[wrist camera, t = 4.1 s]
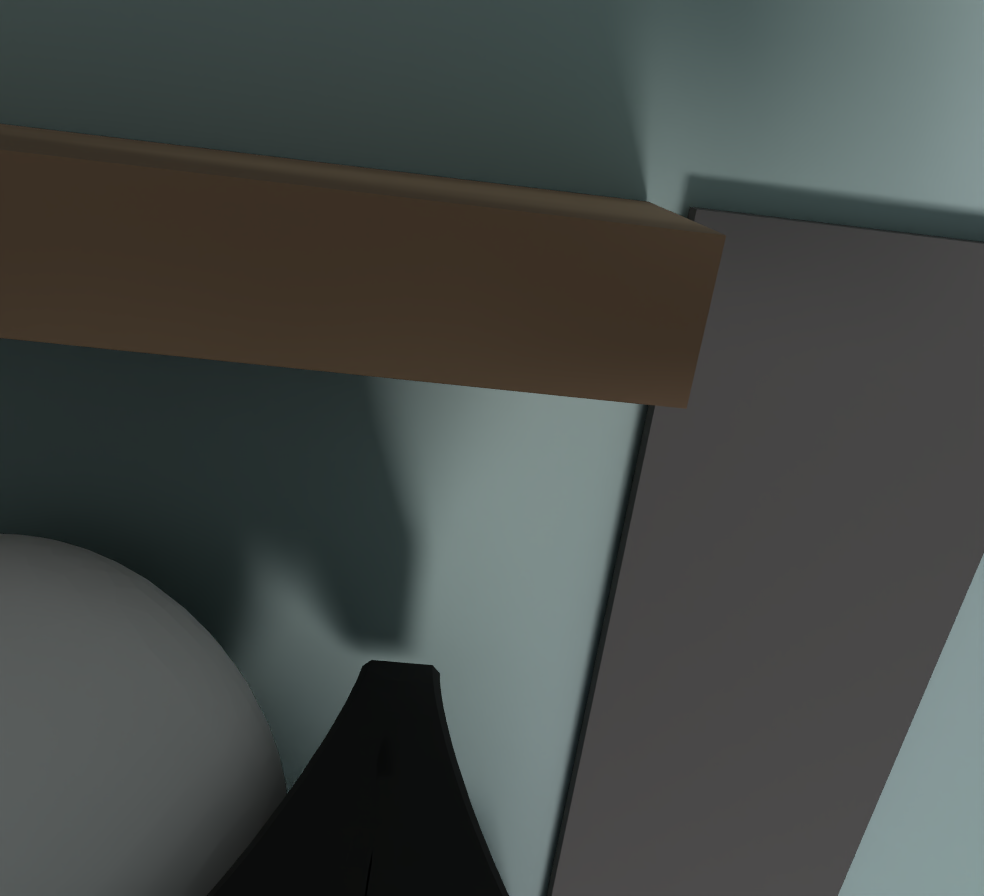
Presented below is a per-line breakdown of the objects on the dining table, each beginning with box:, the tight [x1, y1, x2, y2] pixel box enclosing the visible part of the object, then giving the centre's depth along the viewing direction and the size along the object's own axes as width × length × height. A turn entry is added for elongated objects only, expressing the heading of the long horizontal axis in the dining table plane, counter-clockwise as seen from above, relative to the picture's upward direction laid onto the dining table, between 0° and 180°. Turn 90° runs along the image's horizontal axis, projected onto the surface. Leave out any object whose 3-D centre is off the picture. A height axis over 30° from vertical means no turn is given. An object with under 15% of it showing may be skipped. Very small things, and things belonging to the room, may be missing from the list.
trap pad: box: [547, 207, 984, 896], centre depth 12 cm, size 14×5×1 cm, turn 173°
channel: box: [0, 124, 726, 409], centre depth 10 cm, size 14×14×3 cm
